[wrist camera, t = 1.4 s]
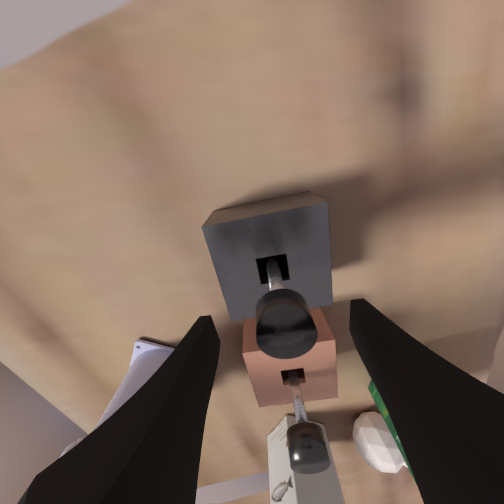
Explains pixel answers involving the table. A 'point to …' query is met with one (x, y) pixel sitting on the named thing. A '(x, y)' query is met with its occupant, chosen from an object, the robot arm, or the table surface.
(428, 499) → the robot arm
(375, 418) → the ornament
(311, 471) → the plunger
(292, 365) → the pot
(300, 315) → the plunger
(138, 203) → the table surface
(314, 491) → the supplement box
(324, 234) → the pot
